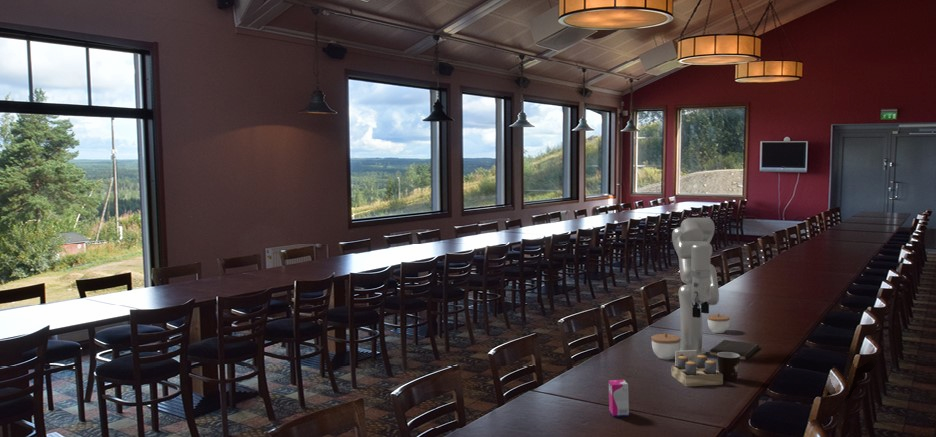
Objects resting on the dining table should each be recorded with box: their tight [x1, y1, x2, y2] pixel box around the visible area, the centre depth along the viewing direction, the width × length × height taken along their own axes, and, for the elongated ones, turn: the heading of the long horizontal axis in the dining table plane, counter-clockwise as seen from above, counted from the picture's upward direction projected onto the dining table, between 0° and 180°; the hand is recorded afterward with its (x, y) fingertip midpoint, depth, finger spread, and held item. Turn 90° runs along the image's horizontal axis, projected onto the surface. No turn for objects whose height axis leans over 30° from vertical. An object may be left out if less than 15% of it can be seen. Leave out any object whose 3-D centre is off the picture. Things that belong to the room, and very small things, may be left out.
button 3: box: [696, 354, 708, 369], centre depth 282 cm, size 4×4×5 cm
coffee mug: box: [716, 352, 741, 383], centre depth 278 cm, size 12×9×10 cm
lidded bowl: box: [650, 332, 681, 360], centre depth 311 cm, size 13×13×11 cm
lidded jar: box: [706, 313, 730, 334], centre depth 354 cm, size 11×11×9 cm
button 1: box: [677, 356, 688, 370], centre depth 281 cm, size 4×4×5 cm
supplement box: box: [608, 379, 630, 418], centre depth 242 cm, size 6×6×12 cm
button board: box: [670, 364, 724, 387], centre depth 278 cm, size 15×15×4 cm
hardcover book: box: [708, 339, 760, 361], centre depth 318 cm, size 16×23×2 cm
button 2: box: [685, 361, 696, 376], centre depth 273 cm, size 4×4×5 cm
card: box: [674, 350, 697, 365], centre depth 288 cm, size 1×9×9 cm, turn 95°
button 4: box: [705, 359, 717, 375], centre depth 274 cm, size 4×4×5 cm
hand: (700, 315), depth 287 cm, fingers open, 8 cm apart
